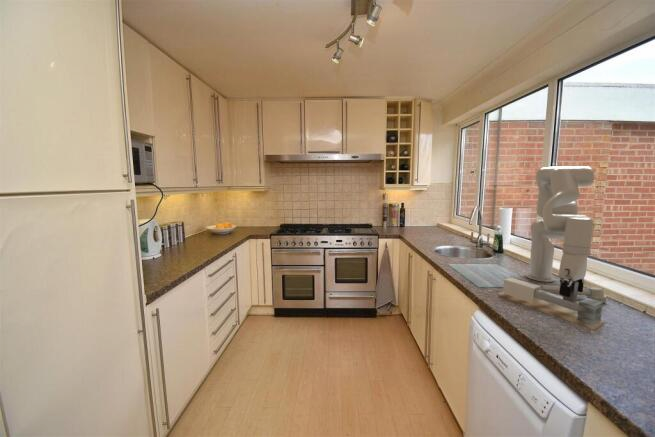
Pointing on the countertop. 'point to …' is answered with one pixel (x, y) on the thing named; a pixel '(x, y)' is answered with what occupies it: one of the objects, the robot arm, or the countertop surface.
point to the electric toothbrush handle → (589, 292)
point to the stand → (569, 311)
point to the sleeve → (520, 289)
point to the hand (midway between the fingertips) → (570, 293)
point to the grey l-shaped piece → (560, 297)
